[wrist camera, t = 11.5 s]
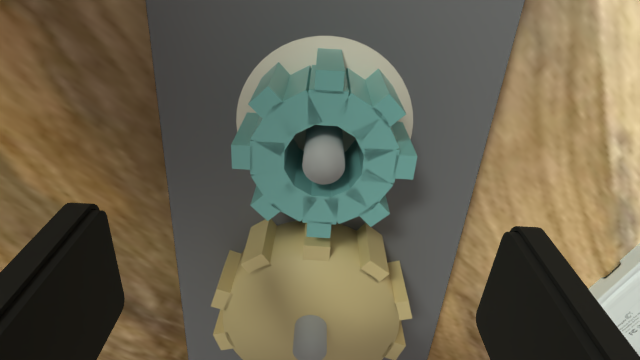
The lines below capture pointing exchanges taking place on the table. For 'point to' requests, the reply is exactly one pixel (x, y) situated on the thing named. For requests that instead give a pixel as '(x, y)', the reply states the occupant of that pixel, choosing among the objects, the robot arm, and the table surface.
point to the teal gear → (331, 110)
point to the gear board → (441, 142)
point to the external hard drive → (622, 296)
